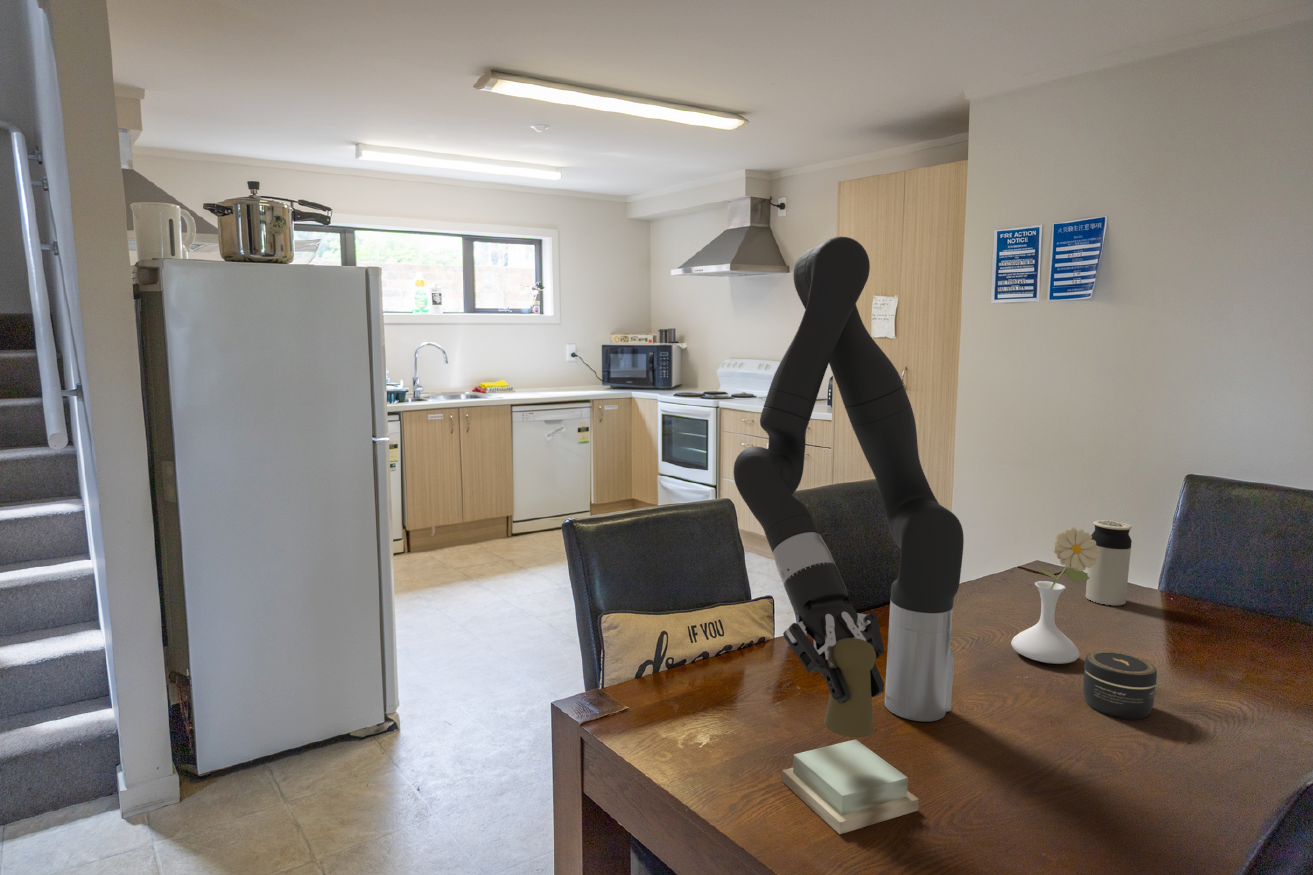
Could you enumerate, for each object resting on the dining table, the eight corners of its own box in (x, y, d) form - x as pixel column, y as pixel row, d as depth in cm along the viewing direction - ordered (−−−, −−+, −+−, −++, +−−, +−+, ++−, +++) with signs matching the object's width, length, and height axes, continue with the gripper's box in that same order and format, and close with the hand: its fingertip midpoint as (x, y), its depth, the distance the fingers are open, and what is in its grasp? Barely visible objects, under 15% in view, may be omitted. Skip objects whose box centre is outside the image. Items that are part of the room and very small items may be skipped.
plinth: (855, 761, 106) (856, 734, 105) (918, 810, 95) (920, 780, 95) (781, 780, 101) (782, 752, 100) (839, 834, 90) (841, 802, 90)
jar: (1092, 687, 131) (1096, 644, 130) (1160, 707, 124) (1165, 662, 123) (1072, 705, 124) (1076, 660, 123) (1143, 728, 117) (1148, 680, 116)
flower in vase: (1011, 663, 140) (1022, 529, 137) (1009, 641, 151) (1018, 516, 148) (1093, 676, 135) (1106, 537, 132) (1084, 652, 146) (1096, 523, 143)
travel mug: (1093, 605, 173) (1100, 526, 171) (1079, 593, 181) (1086, 518, 179) (1131, 607, 172) (1139, 529, 170) (1116, 596, 180) (1123, 520, 177)
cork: (817, 713, 100) (824, 632, 98) (863, 713, 100) (870, 632, 99) (832, 737, 94) (839, 650, 92) (880, 737, 94) (888, 651, 93)
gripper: (776, 565, 98) (829, 696, 89) (865, 555, 104) (923, 677, 95) (752, 592, 104) (799, 718, 94) (838, 581, 110) (890, 699, 100)
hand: (861, 697), depth 95 cm, fingers closed on cork, 4 cm apart
